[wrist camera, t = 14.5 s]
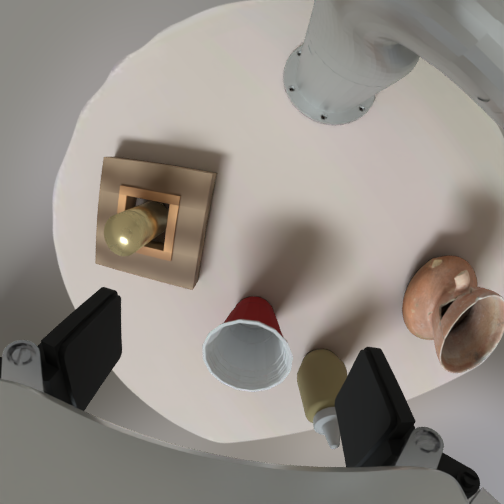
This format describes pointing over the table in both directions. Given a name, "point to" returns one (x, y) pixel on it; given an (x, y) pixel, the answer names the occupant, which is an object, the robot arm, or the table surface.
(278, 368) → the plastic cup
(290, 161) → the table surface
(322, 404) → the squeeze bottle
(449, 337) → the ceramic jug
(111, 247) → the brass peg
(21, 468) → the robot arm
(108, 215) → the walnut plate
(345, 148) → the table surface
